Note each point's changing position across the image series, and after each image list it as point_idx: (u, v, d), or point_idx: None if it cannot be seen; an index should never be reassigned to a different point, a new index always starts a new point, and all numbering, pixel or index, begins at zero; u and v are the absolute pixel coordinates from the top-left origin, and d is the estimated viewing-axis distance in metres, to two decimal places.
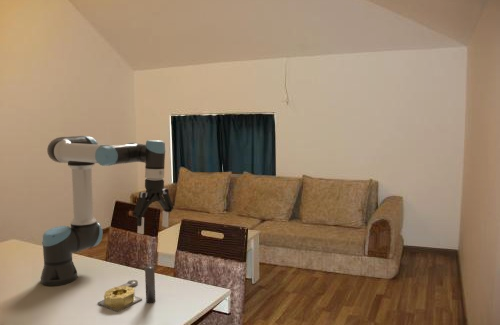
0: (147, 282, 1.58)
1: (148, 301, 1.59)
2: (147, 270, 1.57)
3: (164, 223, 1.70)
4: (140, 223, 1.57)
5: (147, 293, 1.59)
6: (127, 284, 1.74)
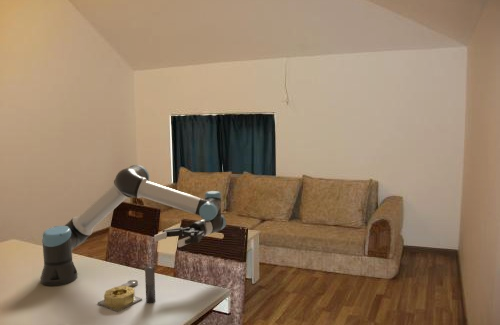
0: (147, 282, 1.58)
1: (148, 301, 1.59)
2: (147, 270, 1.57)
3: (157, 237, 1.70)
4: None
5: (147, 293, 1.59)
6: (127, 284, 1.74)
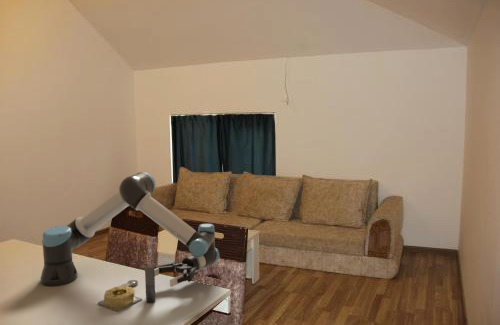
0: (147, 282, 1.58)
1: (148, 301, 1.59)
2: (147, 270, 1.57)
3: None
4: None
5: (147, 293, 1.59)
6: (127, 284, 1.74)
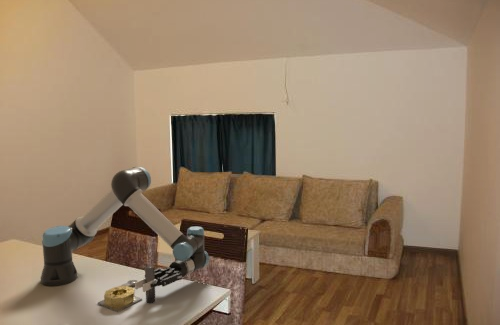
0: (147, 282, 1.58)
1: (148, 301, 1.59)
2: (147, 270, 1.57)
3: (138, 284, 1.57)
4: None
5: (147, 293, 1.59)
6: (127, 284, 1.74)
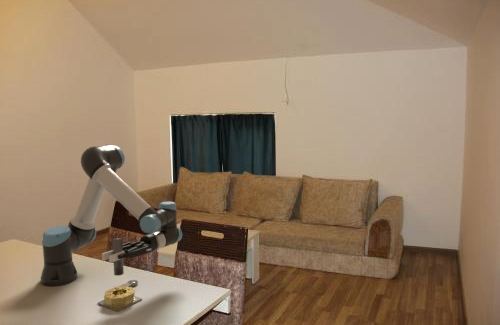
0: None
1: (116, 273, 1.57)
2: (114, 241, 1.56)
3: (106, 256, 1.55)
4: None
5: (115, 265, 1.57)
6: (127, 284, 1.74)
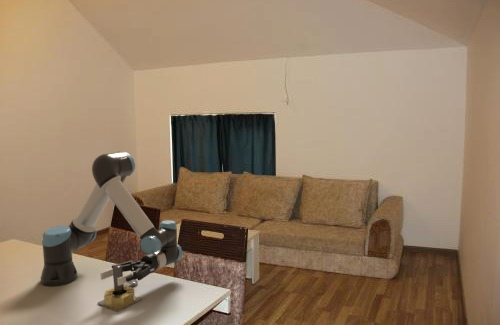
0: (115, 281, 1.57)
1: None
2: (114, 269, 1.57)
3: (104, 275, 1.59)
4: None
5: (115, 292, 1.58)
6: (127, 284, 1.74)
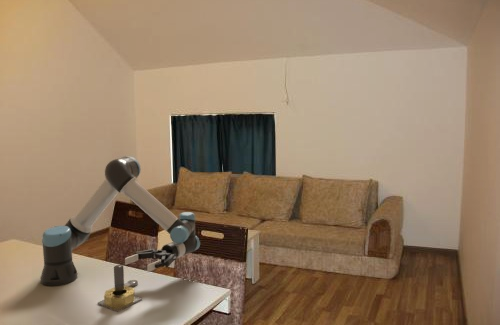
0: (116, 281, 1.58)
1: None
2: (116, 269, 1.57)
3: (128, 260, 1.71)
4: None
5: (116, 292, 1.58)
6: (127, 284, 1.74)
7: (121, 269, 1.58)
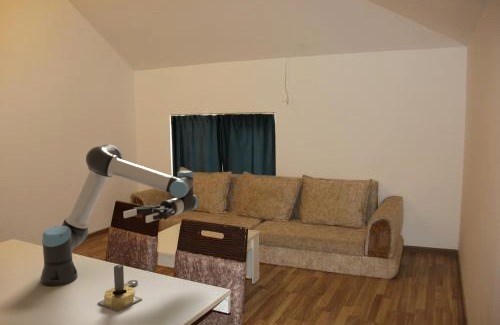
0: (116, 281, 1.58)
1: None
2: (116, 269, 1.57)
3: (127, 214, 1.71)
4: None
5: (116, 292, 1.58)
6: (127, 284, 1.74)
7: (121, 269, 1.58)
